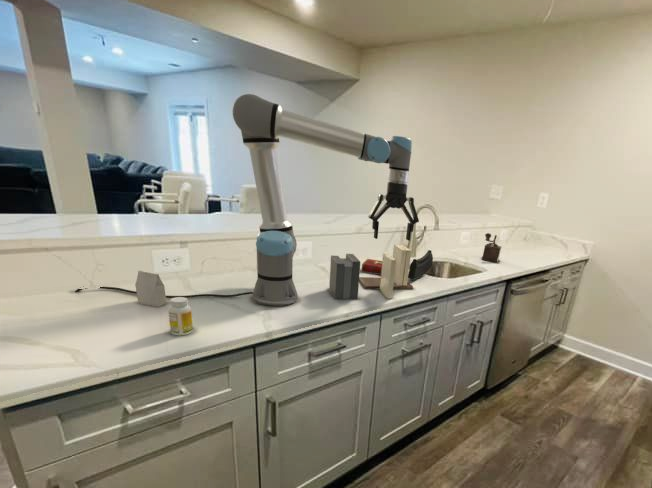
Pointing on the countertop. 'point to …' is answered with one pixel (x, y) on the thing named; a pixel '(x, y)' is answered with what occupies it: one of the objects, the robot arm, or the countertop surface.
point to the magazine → (420, 266)
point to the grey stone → (150, 289)
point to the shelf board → (375, 283)
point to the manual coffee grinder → (491, 250)
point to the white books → (401, 264)
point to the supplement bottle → (180, 316)
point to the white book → (387, 275)
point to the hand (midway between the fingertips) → (392, 239)
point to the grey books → (344, 277)
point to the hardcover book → (372, 266)
